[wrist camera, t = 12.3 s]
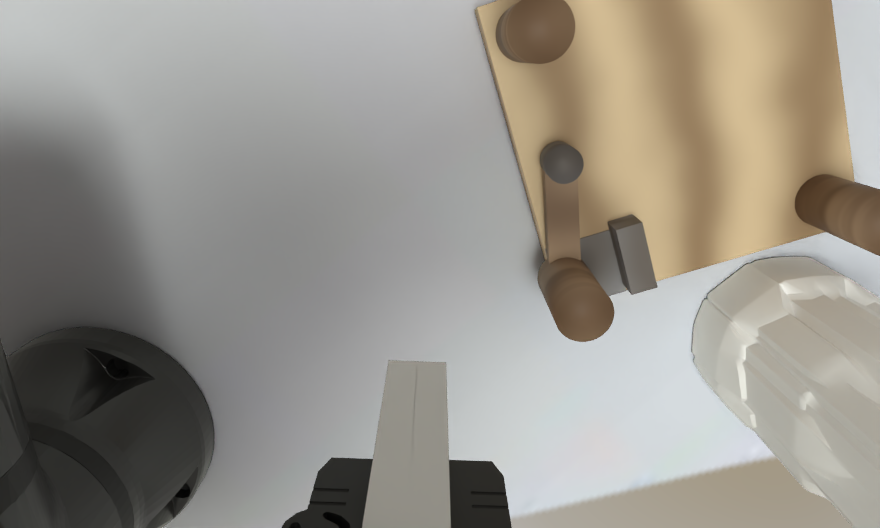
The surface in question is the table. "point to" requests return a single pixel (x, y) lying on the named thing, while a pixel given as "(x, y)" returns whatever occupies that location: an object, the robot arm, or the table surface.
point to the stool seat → (682, 127)
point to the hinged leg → (568, 251)
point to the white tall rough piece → (801, 373)
